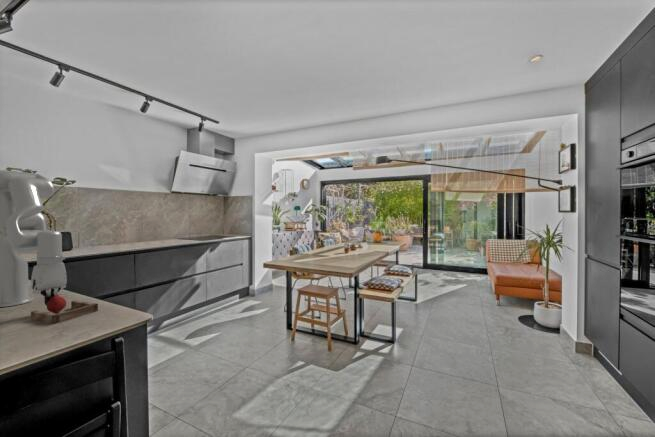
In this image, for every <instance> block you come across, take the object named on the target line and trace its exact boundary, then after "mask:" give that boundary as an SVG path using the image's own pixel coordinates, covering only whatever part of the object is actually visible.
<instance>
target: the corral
mask: <svg viewBox="0 0 655 437" xmlns="http://www.w3.org/2000/svg"><path fill="white" fill-rule="evenodd" d="M70 303H71V306H70V307H71V309H70V310H66V311H63V312H59V313H57V314H55V313H52V312H47V311H42V310H32V311H30V320H31V321H32V320H33V321H38V322H43V323H49V324H54V325H55V324H59V323H62V322H65V321H68V320H69V321H70V320H73V319H76V318H78V317H82V316H85V315H89V314H92V313H96V312H99V304H98V303H95V302H88V301H81V300H72V301H70ZM72 308H73V309H72Z"/></svg>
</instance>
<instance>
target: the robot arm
mask: <svg viewBox="0 0 655 437" xmlns="http://www.w3.org/2000/svg"><path fill="white" fill-rule="evenodd" d="M54 194H55V186H54V184H53V182H52V181H51V180H50V179H49V178H47V177H45V176H43V175H41V174H39V173H35V172H25V171H15V170H7V169H5V170H4V169H0V231H4V232H6V233H3V234H0V308H4V307H12V306H13V307H14V306H19V305H23V304H27V303H30V302H32V301H34V297H33V296H29V264H28V263H29V262H28V261H27V260H26V259H25V258H24V257H23V256H21V255H24V254H33V253H36V265H33V268H32V272H31V279H30V280H31V281H30V288H31V290H32V294H35V295H41V296H43V297H44V304H45V306H47V303H48V301H49V300H50V299H51V298H53V297H54V296H55V295H56V294H59V292H60V291H61V290H63V289H65V288H67V281H68V278H67V270H66V265H65V263H64V262H63V260H66V256H63V234H62V233H61V231H57V230H53V229H47V224H46V218H45V216H44V215H43V213H42V212H43V211H44V205H43V202H42V199H41V198H51V197H52V196H53V195H54Z"/></svg>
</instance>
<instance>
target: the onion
mask: <svg viewBox="0 0 655 437" xmlns="http://www.w3.org/2000/svg"><path fill="white" fill-rule="evenodd" d="M66 307H67V301H66V299H65V298H64V297H62V296H60V294H59V293H57V294H56V295H55V296H54V297H53V298H51V299H50V300H49V301H48V303H47V305H46V309H47V311H49V313H54V314H59V313H61V311H64V309H65V308H66Z"/></svg>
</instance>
